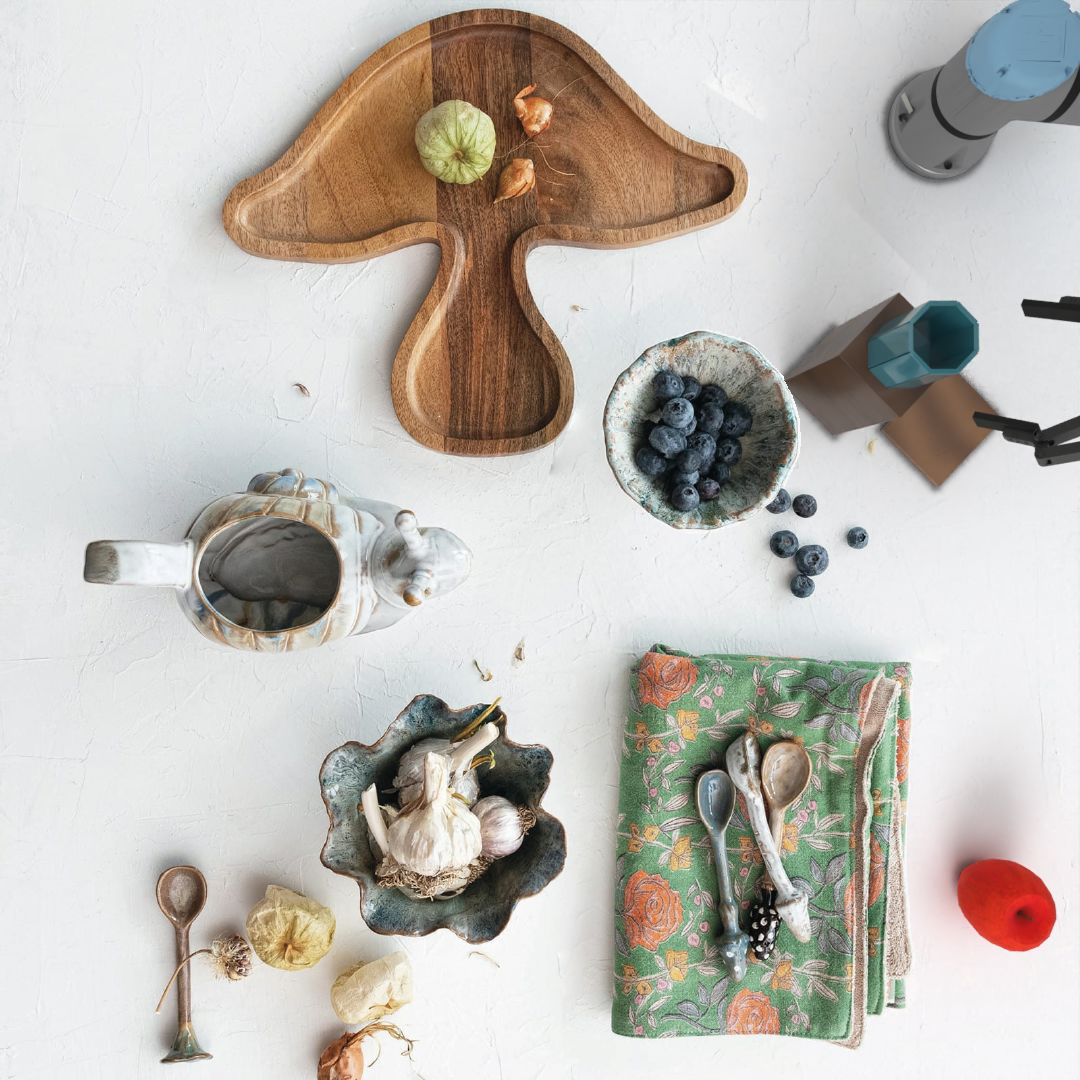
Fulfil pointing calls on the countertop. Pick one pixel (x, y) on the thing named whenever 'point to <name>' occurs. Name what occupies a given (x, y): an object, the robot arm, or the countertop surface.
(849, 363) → the block
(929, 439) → the mat
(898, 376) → the cup
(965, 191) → the countertop surface
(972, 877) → the apple
